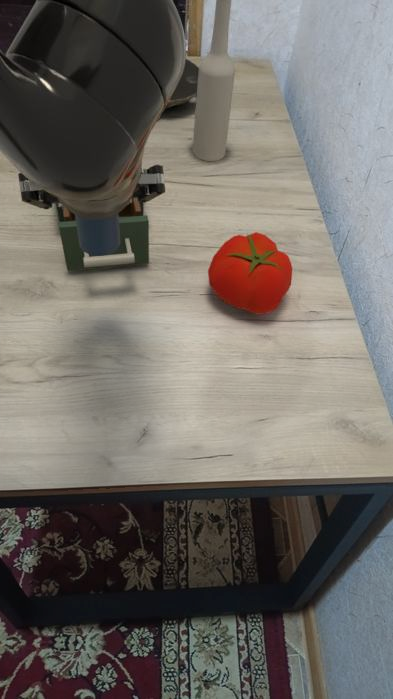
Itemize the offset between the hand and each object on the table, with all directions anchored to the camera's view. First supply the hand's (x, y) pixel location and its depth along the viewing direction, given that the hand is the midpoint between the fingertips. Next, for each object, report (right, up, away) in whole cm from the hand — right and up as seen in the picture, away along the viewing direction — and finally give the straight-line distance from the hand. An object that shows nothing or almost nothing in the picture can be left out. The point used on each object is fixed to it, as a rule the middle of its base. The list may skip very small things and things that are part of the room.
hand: (94, 200), depth 56 cm
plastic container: (0, -4, +3) cm, 5 cm away
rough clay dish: (+3, +40, +55) cm, 68 cm away
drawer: (-3, -1, +22) cm, 22 cm away
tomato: (+19, -9, +19) cm, 29 cm away
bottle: (+14, +22, +42) cm, 50 cm away
